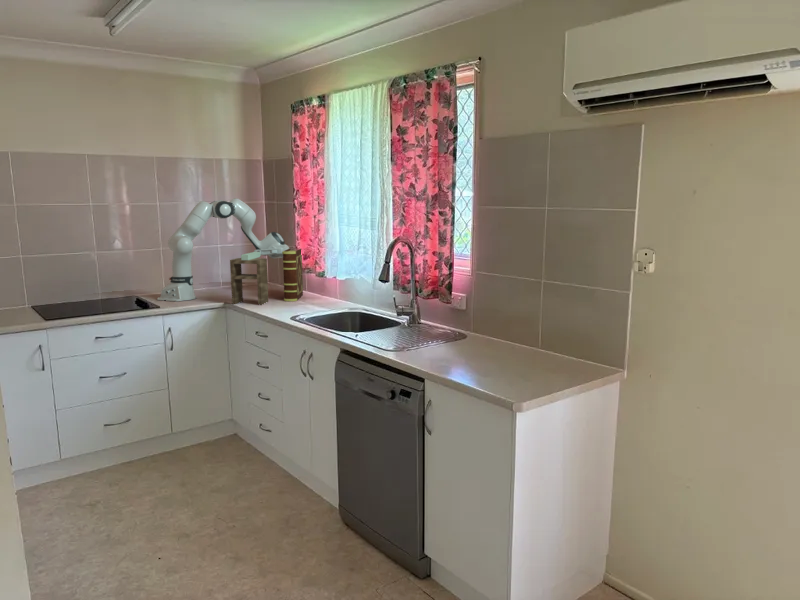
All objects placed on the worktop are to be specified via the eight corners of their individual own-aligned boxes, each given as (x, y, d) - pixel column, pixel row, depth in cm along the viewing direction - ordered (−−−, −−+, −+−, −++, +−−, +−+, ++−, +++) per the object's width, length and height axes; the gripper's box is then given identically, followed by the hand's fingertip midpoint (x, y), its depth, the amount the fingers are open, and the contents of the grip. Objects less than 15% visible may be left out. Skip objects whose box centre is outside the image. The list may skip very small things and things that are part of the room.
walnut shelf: (232, 304, 345) (229, 259, 341) (239, 301, 356) (237, 258, 352) (261, 305, 343) (259, 260, 338) (268, 301, 354) (266, 258, 349)
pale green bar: (241, 260, 340) (241, 254, 339) (254, 256, 358) (253, 251, 358) (248, 260, 339) (247, 255, 339) (260, 256, 358) (260, 251, 357)
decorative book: (296, 301, 355) (294, 251, 349) (283, 301, 355) (281, 251, 350) (303, 295, 377) (301, 248, 372) (290, 295, 377) (289, 248, 372)
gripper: (259, 247, 384) (248, 248, 370) (288, 245, 378) (278, 246, 365) (260, 257, 384) (249, 258, 371) (289, 255, 379) (279, 256, 365)
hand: (264, 252), depth 368 cm, fingers open, 8 cm apart
